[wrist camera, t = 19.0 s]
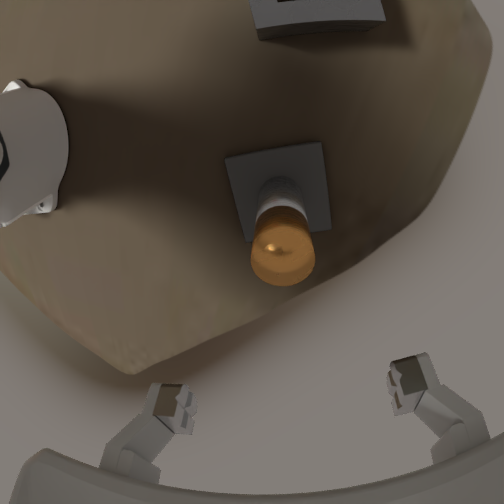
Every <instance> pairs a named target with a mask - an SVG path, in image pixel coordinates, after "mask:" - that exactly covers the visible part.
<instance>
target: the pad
mask: <svg viewBox="0 0 504 504" xmlns="http://www.w3.org/2000/svg"><path fill="white" fill-rule="evenodd" d="M224 161H225V165H226V169H227V173H228V176H229V180H230V184H231V188H232V192H233V196H234V200H235V203H236V207H237V211H238V215H239V219H240V223H241V227H242V230H243V234H244V238H245V242H246V243H247V242H253V238H254V230H255V223H256V216H257V208H258V201H259V194H260V189H261V187H262V185H263V184H264V183H265V182H266V181H267V180H269V179H271V178H273V177H277V176H283V177H287V178H290V179H292V180H293V181H294V182H296V183H297V185H298V186H299V188H300V191H301V195H302V199H303V203H304V208H305V212H306V216H307V221H308V225H309V230H310V233H312V232H318V231H325V230H332V226H331V215H330V206H329V196H328V188H327V180H326V172H325V164H324V157H323V150H322V144H321V142H320V141H317V142H310V143H303V144H296V145H290V146H284V147H278V148H272V149H266V150H261V151H255V152H250V153H245V154H240V155H235V156H230V157H226V158H225V159H224Z"/></svg>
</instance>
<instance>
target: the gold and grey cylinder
mask: <svg viewBox="0 0 504 504" xmlns="http://www.w3.org/2000/svg"><path fill="white" fill-rule="evenodd" d="M314 265H315V253H314V248H313V244H312V239H311V234H310V230H309V225H308V221H307V216H306V212H305V208H304V203H303V199H302V195H301V191H300V188H299V186H298V185H297V183H296V182H294V181H293V180H292V179H290V178H287V177H283V176H277V177H273V178H271V179H269V180H267V181H266V182H265V183H264V184H263V185H262V187H261V189H260V194H259V201H258V208H257V216H256V223H255V230H254V238H253V245H252V253H251V266H252V269H253V271H254V272H255V274H256V275H257V276H258V277H259V278H260V279H261V280H263V281H264V282H266V283H268V284H271V285H275V286H290V285H294V284H297V283H299V282H301V281H303V280H304V279H305V278H306V277H308V275H309V274H310V273H311V272H312V270H313V268H314Z"/></svg>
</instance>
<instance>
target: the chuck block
mask: <svg viewBox="0 0 504 504" xmlns="http://www.w3.org/2000/svg"><path fill="white" fill-rule="evenodd" d="M248 1H249V4H250V8H251V11H252V15H253V19H254V22H255V26H256V30H257V34H258V38H259V40H264V39H270V38H277V37H284V36H291V35H300V34H309V33H322V32H340V31H368V30H370V29H372V28H374V27H376V26H377V25H379V24H381V23H383V22H385V21H386V18H385V14H384V11H383V7H382V4H381V1H380V0H296V1H286V2H277V0H248Z"/></svg>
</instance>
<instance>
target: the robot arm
mask: <svg viewBox="0 0 504 504" xmlns="http://www.w3.org/2000/svg"><path fill="white" fill-rule="evenodd" d="M67 160H68V133H67V127H66V123H65V120H64V117H63V114H62V112H61V109H60V108H59V106H58V104H57V103H56V101H55V100H54V99H53V98H52V97H51V96H50V95H49V94H48V93H46V92H45V91H43V90H40V89H34V88H29V87H27V86H26V85H25V84H24V83H23V82H22V81H20V80H14V81H11V82H10V83H9V84H8V86H7V87H6V88H5V90H4V91H3V92H2V93H0V228H1V227H3V226H4V227H5V226H8V225H9V224H11V223H12V222H14V221H15V220H17V219H18V218H19V217H21V216H22V215H26V214H37V213H47V212H51V211H52V210H54V209H55V208H56V207H57V200H58V187H59V184H60V182H61V180H62V177H63V175H64V172H65V169H66V165H67ZM390 369H391V370H390V371H389V372H388V375H387V387H388V392H389V394H390V395H392V396H393V400H392V402H391V404H392V408H393V412H394V416H398V415H402V414H406V413H409V412H414V413H415V414H416V415H417V416H418V417H419V418H420V419H421V420H422V421H423V422H424V423H425V424H426V425H427V426H428V427H429V428H430V429H431V430H432V431H433V432H434V433H435V434H436V435H437V436H438V437H439V438H440V439H439V440H438V441H437V442H436V443H435V445H434V446H433V447H432V448H431V454H432V459H433V464H434V465H431V466H429V467H426V468H423V469H420V470H417V471H413V472H410V473H407V474H404V475H400V476H397V477H393V478H389V479H385V480H382V481H377V482H373V483H368V484H363V485H358V486H353V487H347V488H341V489H334V490H327V491H318V492H309V493H295V494H276V495H275V494H272V495H251V494H250V495H249V494H248V495H247V494H228V493H215V492H205V491H196V490H189V489H182V488H176V487H170V486H165V485H159V484H158V483H159V478H160V472H161V470H160V469H159V468H158V467H157V466H155V465H153V464H151V462H152V461H153V460H154V459H155V458H156V457H157V455H158V454H159V453H160V452H161V451H162V449H163V448H164V447H165V446H166V444H167V443H168V442H169V441H170V440H171V439H172V437H173V436H174V434H189V435H192V432H193V427H194V420H193V418H192V417H193V416H194V415H195V413H196V411H197V400H196V397H195V395H194V394H193V393H192V392H189V387H188V386H187V385H186V384H166V383H152V385H151V386H150V389H149V392H148V395H147V398H146V401H145V405H144V408H143V411H142V414H138V415H137V416H136V417H135V418H134V419H133V420H132V421H131V422H130V423H129V424H128V425H127V426H125V427H124V428H123V429H122V430H121V431H120V432H119V433H118V434H117V435H116V436H115V437H113V438H112V439H111V440H110V441H109V442H108V443H107V444H106V446H105V449H104V453H103V456H102V459H101V462H100V465H99V468H97V467H94V466H91V465H88V464H85V463H83V462H80V461H78V460H75V459H72V458H70V457H68V456H65V455H63V454H61V453H58V452H56V451H54V450H51V449H49V448H44V449H42V450H40V451H39V452H37V453H36V454H34V455H33V456H32V457H30V458H29V459H28V460H27V461H26V462H25V463H24V465H23V466H22V468H21V471H20V473H19V475H18V478H17V481H16V483H15V486H14V489H13V492H12V495H11V499H10V501H9V504H504V432H503V433H501V434H499V435H498V436H496V437H494V438H492V439H490V435H489V432H488V429H487V426H486V423H485V420H484V417H483V414H482V412H481V411H479V410H478V409H477V408H475V407H474V406H473V405H471V404H470V403H468V402H467V401H466V400H464V399H463V398H462V397H460V396H459V395H458V394H456V393H455V392H454V391H452V390H451V389H449V388H448V387H447V386H445V385H440V382H439V379H438V377H437V374H436V372H435V369H434V367H433V364H432V362H431V359H430V357H429V355H428V354H427V353H421V354H418V355H414V356H410V357H406V358H402V359H399V360H395V361H392V362H391V363H390Z"/></svg>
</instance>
